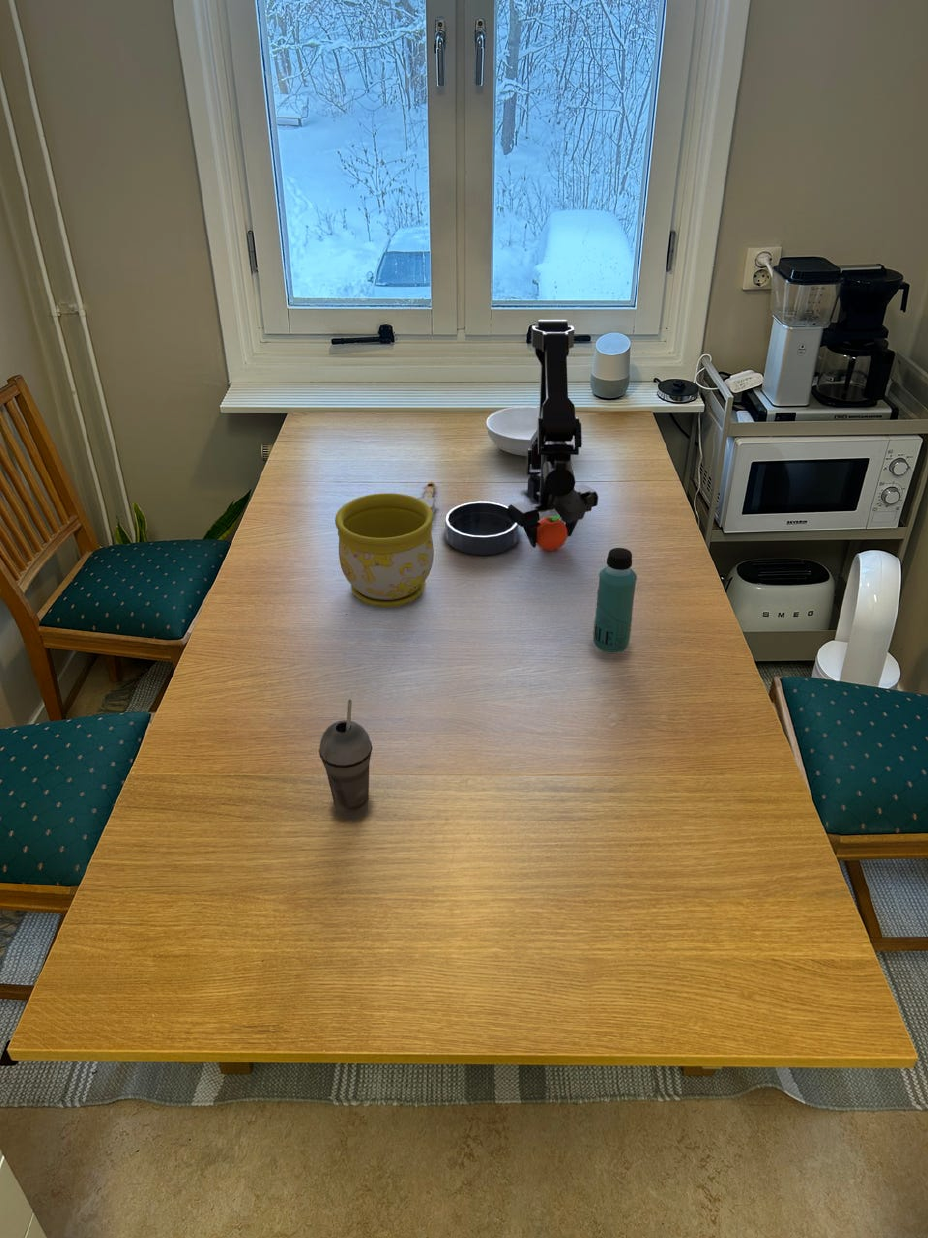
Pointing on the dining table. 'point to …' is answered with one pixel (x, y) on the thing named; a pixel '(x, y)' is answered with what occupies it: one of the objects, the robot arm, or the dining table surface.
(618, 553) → the beverage bottle
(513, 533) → the fruit bowl
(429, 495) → the paintbrush
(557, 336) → the robot arm
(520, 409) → the serving bowl
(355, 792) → the beverage cup
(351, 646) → the dining table surface
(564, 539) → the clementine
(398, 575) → the flowerpot
